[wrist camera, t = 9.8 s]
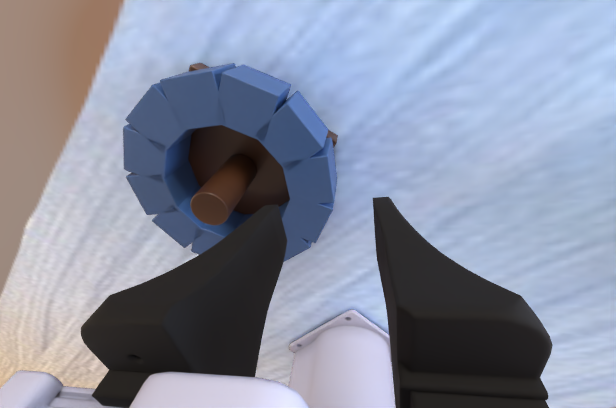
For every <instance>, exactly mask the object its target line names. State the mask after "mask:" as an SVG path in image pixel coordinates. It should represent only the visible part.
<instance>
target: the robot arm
mask: <svg viewBox="0 0 616 408" xmlns="http://www.w3.org/2000/svg"><path fill="white" fill-rule="evenodd" d="M373 208H374V224H375V240H376V253H377V261H378V266H379V271H380V276H381V282H382V287H383V292H384V297H385V302H386V309H387V316H388V327H389V334H387V333H386V332H384V331H383V330H382V329H380V328H379V327H377V326H376V325H375V324H373V323H372V322H370V321H369V320H368V319H366V318H365V317H364V316H362V315H361V314H359V313H358V312H357V311H355V310H348V311H347V312H345V313H343V314H341V315H340V316H338V317H336V318H334V319H333V320H331V321H329V322H327V323H326V324H324V325H322V326H320V327H319V328H317V329H315V330H313V331H312V332H310V333H308V334H306V335H304V336H303V337H301V338H299V339H297V340H296V341H294V342H292V343H290V344H289V350H291V351H292V352H294V353H295V355H294V360H293V366H292V371H291V376H290V381H289V387H288V386H286V385H284V384H282V383H280V382H277V381H272V380H267V379H263V378H257V377H255V373H256V367H257V361H258V355H259V350H260V345H261V339H262V334H263V329H264V325H265V320H266V316H267V311H268V308H269V304H270V301H271V298H272V295H273V292H274V289H275V286H276V283H277V280H278V277H279V274H280V271H281V268H282V265H283V262H284V258H285V252H286V247H287V237H286V233H285V229H284V225H283V222H282V218H281V214H280V210H279V206H278V204H277V205H265V206H263V207H262V208H261V209H259V210H258V211H257V212H256V213H254V214H253V215H252V216H251V217H250V218H249V219H247V220H246V221H245V222H244V223H243V224H241V225H240V226H239V227H238V228H237V229H235V230H234V231H233V232H231V233H230V234H229V235H227V236H226V237H225V238H224V239H222V240H221V241H220V242H218V243H217V244H215V245H214V246H212V247H211V248H210V249H208V250H206V251H205V252H203V253H202V254H200V255H199V256H197V257H195V258H193V259H192V260H190V261H188V262H186V263H184V264H182V265H180V266H179V267H177V268H175V269H173V270H171V271H169V272H167V273H165V274H163V275H160V276H158V277H156V278H154V279H151V280H149V281H147V282H144V283H142V284H139V285H137V286H134V287H131V288H129V289H126V290H123V291H121V292H118V293H115V294H112V295H110V296H109V297H108V298H107V299H106V300H105V301H104V302H103V303H102V304H101V306H100V307H99V308H98V309H97V310H96V311H95V312H94V313H93V314H92V316H91V317H90V318H89V319H88V320H87V321H86V322H85V323H84V325H83V326H82V327H81V336H82V339H83V341H84V343H85V344H86V345H87V347H88V348H89V349H90V350H91V351H92V352H93V353H94V354H95V355H96V356H97V357H98V359H99V360H100V361H101V362H102V363H103V364H104V365H105V366H106V367H107V368H108V369H109V371H108V373H107V374H106V376H105V377H104V378H103V380H102V381H101V383H100V384H99V385H98V387H97V388H96V389H90V388H79V387H68V386H63V384H62V383H61V382H60V381H59V380H58V379H57V378H56V377H54V376H53V375H51V374H48V373H45V372H37V371H24V370H20V371H17V372H16V373H15V374H14V375H13V376H12V377H11V378H10V379H9V380H8V381H7V382H6V383H5V384H4V385H3V386H2V387H1V388H0V408H395V405H396V408H549V407H548V405H547V403H546V401H545V400H547V399H548V393H547V391H546V389H545V387H544V385H543V383H542V381H541V379H540V376H541V374H542V372H543V369H544V367H545V365H546V363H547V361H548V359H549V356H550V354H551V349H552V342H551V339H550V336H549V334H548V333H547V331H546V330H545V328H544V326H543V325H542V323H541V322H540V320H539V319H538V317H537V316H536V314H535V313H534V312H533V310H532V309H531V308H530V307H529V305H528V304H527V303H526V302H525V300H524V299H523V298H522V296H520V295H518V294H516V293H514V292H511V291H509V290H507V289H505V288H503V287H500V286H498V285H496V284H494V283H492V282H489V281H487V280H485V279H484V278H482V277H480V276H478V275H476V274H474V273H473V272H471V271H469V270H467V269H465V268H464V267H462V266H460V265H459V264H457V263H456V262H454V261H453V260H451V259H450V258H448V257H447V256H445V255H444V254H442V253H441V252H440V251H438V250H437V249H436V248H435V247H433V246H432V245H431V244H430V243H429V242H427V241H426V240H425V239H424V238H423V237H422V236H421V235H420V234H419V233H418V232H417V231H416V230H415V229H414V228H413V227H412V226H411V225H410V224H409V223H408V221H407V220H406V219H405V218H404V217H403V216H402V214H401V213H400V212H399V211H398V209H397V208H396V206H395V205H394V203H393V202H392V200H391V199H390V198H389V197H378V198H373ZM391 362H392V370H391ZM392 371H393V380H392ZM393 382H394V391H393ZM394 393H395V401H394Z"/></svg>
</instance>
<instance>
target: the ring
mask: <svg viewBox="0 0 616 408" xmlns="http://www.w3.org/2000/svg"><path fill="white" fill-rule="evenodd" d="M290 87H291V85H290V84H288V83H286V82H283V81H281V80H279V79H276V78H274V77H272V76H269V75H267V74H265V73H262V72H260V71H257V70H255V69H253V68H250V67H248V66H246V65H241V66H238V67H235V64H234V63H233V64H227V65H222V66H217V67H211V68H206V69H200V70H195V71H189V72H186V73H183V74H179V75H176V76H172V77H169V78H165V79H162V80H160V83H157V84H154V85H152V86H151V87H150V89H149V90H148V91H147V92H146V94H145V95H144V96H143V97H142V99H141V100H140V101H139V103H138V104H137V105H136V106H135V108H134V109H133V110H132V111H131V113H130V114H129V115H128V117H127V118H126V121H127V122H128V123H130V124H129V125H127V126H124V128H123V143H124V169H125V170H127V171H129V172H132V173H131V174H129V175H128V176H126V178H127V180H128V182H129V184H130V185H131V187H132V189H133V191H134V193H135V194H136V196H137V198H138V200H139V202H140V203H141V205H142V207H143V209H144V211H145V212H146V214H147V215H152V214H158V215H157V216H156V217H155V218H154V219H153V220H152V221H153V222H154V223H155V224H156V225H157V226H159V227H160V228H161V229H162V230H163V231H165V232H166V233H167V234H168V235H169V236H171V237H172V238H173V239H174V240H175V241H177V242H178V243H179V244H180V245H181V246H183V247H184V248H185V247H187V246H188V245H190V244H191V243H192V242H193V243H192V249H191V251H192V252H194V253H197V254H199V255H200V254H202V253H203V252H205V251H206V250H208V249H210V248H211V247H212V246H214V245H215V244H217V243H218V242H220V241H221V240H222V239H224V238H225V237H226V236H227V235H229V234H230V233H231V232H233V231H234V230H235V229H237V228H238V227H239V226H240V225H241V224H243V223H244V222H245V221H246V220H247V219H249V218H250V217H251V216H252V215H253V214H242V213H239V212H237V211H234V210H233V211H232V213H231V214H230V216H229V217H228V219H227V220H226V221H225V222H224V223H222V224H220V225H209V224H206V223H203V222H202V221H200V220H199V219H198V218H197V217H196V216H195V215H194V214H193V212H192V210H191V206H190V203H191V199H192V197H193V196H194V195H195V194H196V193H197V192H198V191H199V189H200V188H201V187H200V186H199V184H198V182H197V180H196V177H195V175H194V172H193V170H192V167H191V165H190V163H189V160H188V157H189V150H190V142H191V135H192V133H193V132H194V131H195V130H196V129H197V128H204V127H211V126H218V125H223V126H225V127H228V128H230V129H232V130H235V131H237V132H240V133H242V134H245V135H247V136H250V137H252V138H255V139H257V140H259V142H260V143H261V144H262V145H263V146H264V147H265V148H266V149H267V150H268V152H269V153H270V154H271V155H272V156H273V157H274V158H275V159H276V161H277V162H278V163H279V164H280V165H281V166H282V167H283V171H284V175H285V180H286V184H287V188H288V192H289V197H290V199H289V201H287V202H285V203H284V204H282V205H281V206H279V210H280V214H281V218H282V222H283V225H284V229H285V233H286V237H287V247H286V252H285V258H284V261H286V260H288V259H290V258H292V257H294V256H295V255H297V254H299V253H301V252H303V251H305V250H307V249H309V248H310V247H311V243H312V242H314V243H316V241H317V239H318V237H319V235H320V234H321V232H322V230H323V228H324V226H325V224H326V222H327V220H328V218H329V216H330V214H331V212H332V210H333V204H334V199H335V192H336V184H337V173H336V165H335V158H334V150H333V142H332V138H331V137H330V138H326V136H327V133H328V129H327V127H326V126H325V125H324V123H323V122H322V121H321V120H320V118H319V117H318V116H317V114H316V113H315V112H314V110H313V109H312V108H311V107H310V105H309V104H308V103H307V101H306V100H305V99H304V98H303V96H302V95H301V94H300V92H299V91H296V92H295V93H294V94H293V95H292V96H291V97H290V98H288V99H287V96H288V93H289V90H290ZM286 99H287V100H286Z"/></svg>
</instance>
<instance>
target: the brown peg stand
mask: <svg viewBox="0 0 616 408" xmlns="http://www.w3.org/2000/svg"><path fill="white" fill-rule="evenodd" d="M206 68H209V67H207V66H206V65H204V64H202V63H197V64H193V65H190V68H189V71H195V70H200V69H206ZM330 137H331V138H332V142H333V148H334V146H335V144H336V143H337V137H338V135H336V134H335V133H333V132H331V131H329V130H328V133H327V136H326V138H330ZM188 160H189V163H190V165H191V167H192V170H193V172H194V175H195V177H196V180H197V182H198V184H199V186H200V187H201V188H200V189H199V191H198V192H197V193H196V194H195V195H194V196H193V197H192V199H191V203H190V206H191V210H192V212H193V214H194V215H195V216H196V217H197V218H198V219H199V220H200V221H202V222H203V223H206V224H209V225H220V224H222V223H224V222H225V221H226V220H227V219H228V217H229V216H230V214H231V213H232V211H233V210H234V211H237V212H239V213H242V214H254V213H256V212H257V211H258V210H259V209H261V208H262V207H263V206H265V205H277V204H278V206H281V205H282V204H284V203H285V202H287V201H289V199H290V197H289V192H288V188H287V184H286V180H285V175H284V171H283V167H282V166H281V165H280V164H279V163H278V162H277V161H276V159H275V158H274V157H273V156H272V155H271V154H270V153H269V152H268V150H267V149H266V148H265V147H264V146H263V145H262V144H261V143H260V142H259V140H257V139H255V138H252V137H250V136H247V135H245V134H242V133H240V132H237V131H235V130H232V129H230V128H228V127H225V126H223V125H218V126H211V127H204V128H197V129H196V130H195V131H194V132H193V133H192V135H191V142H190V150H189V157H188Z"/></svg>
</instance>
